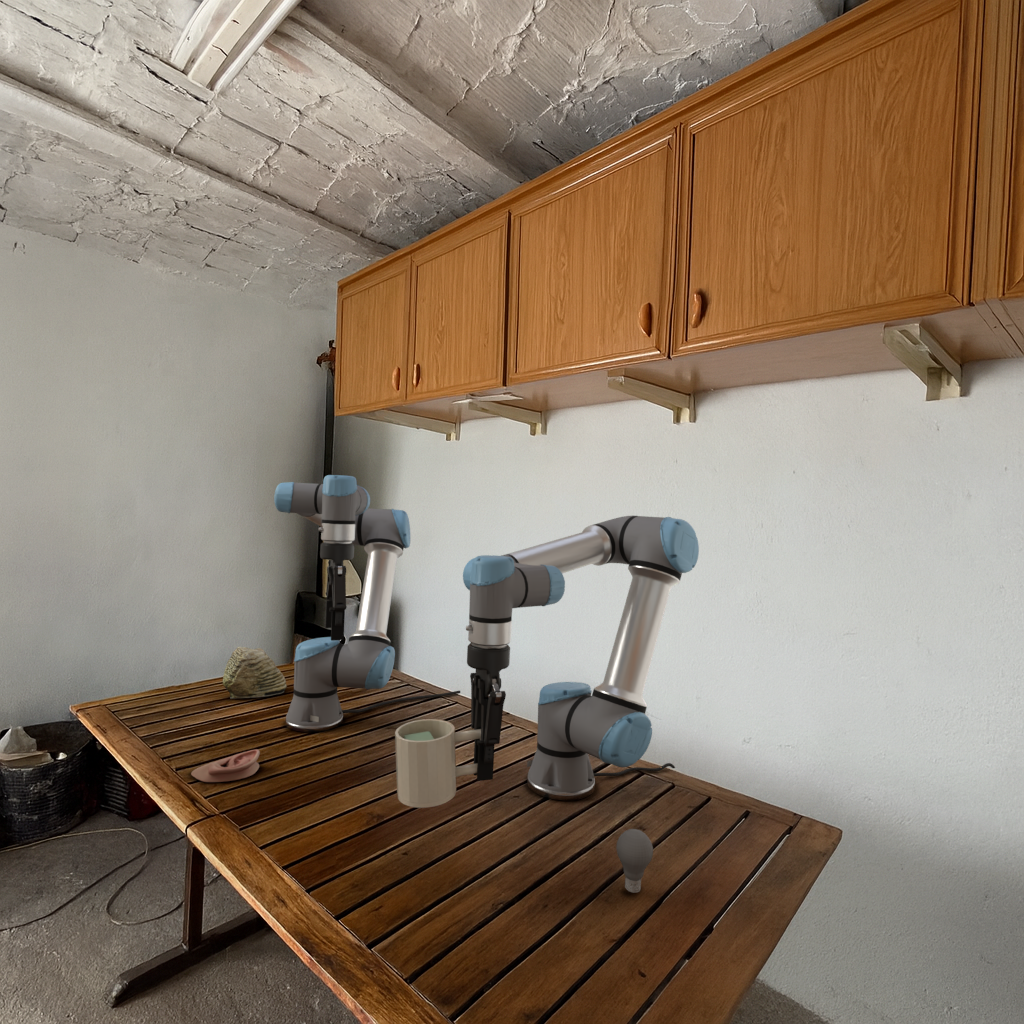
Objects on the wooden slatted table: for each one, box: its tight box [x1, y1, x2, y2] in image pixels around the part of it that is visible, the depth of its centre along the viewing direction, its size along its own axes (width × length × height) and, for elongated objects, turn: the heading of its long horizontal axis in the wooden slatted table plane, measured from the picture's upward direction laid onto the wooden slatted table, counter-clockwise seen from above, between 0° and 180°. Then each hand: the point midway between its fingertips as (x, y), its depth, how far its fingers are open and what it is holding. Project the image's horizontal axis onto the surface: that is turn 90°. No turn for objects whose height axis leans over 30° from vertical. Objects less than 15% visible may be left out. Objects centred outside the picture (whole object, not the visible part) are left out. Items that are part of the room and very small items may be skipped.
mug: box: [394, 718, 481, 809], centre depth 109 cm, size 16×10×11 cm, turn 110°
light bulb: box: [615, 828, 654, 894], centre depth 106 cm, size 6×6×10 cm
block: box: [404, 731, 434, 741], centre depth 108 cm, size 4×4×9 cm
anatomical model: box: [190, 748, 261, 783], centre depth 143 cm, size 13×4×12 cm
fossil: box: [222, 646, 288, 699], centre depth 198 cm, size 9×18×15 cm, turn 132°
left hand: (334, 633), depth 147 cm, fingers open, 13 cm apart
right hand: (482, 776), depth 112 cm, fingers closed on mug, 2 cm apart
